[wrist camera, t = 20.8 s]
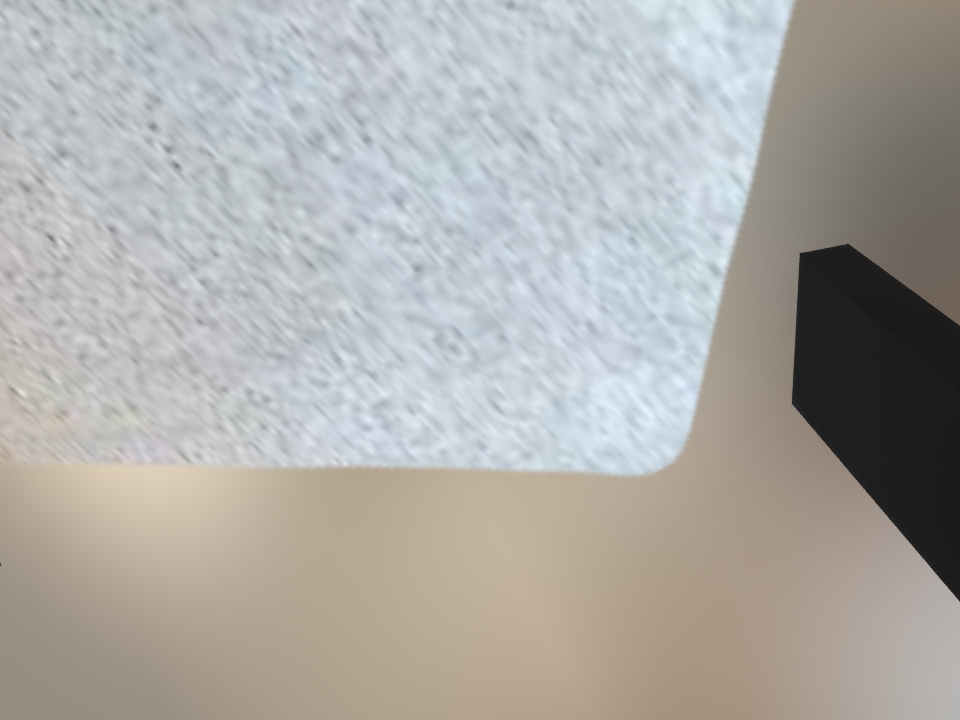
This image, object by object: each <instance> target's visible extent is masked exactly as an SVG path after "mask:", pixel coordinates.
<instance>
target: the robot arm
mask: <svg viewBox="0 0 960 720" xmlns="http://www.w3.org/2000/svg"><path fill="white" fill-rule="evenodd" d="M792 393H793V394H792V404H793V405H794V407H795V408H796V409H797V410H798V411H799V412H800V414H801V415H802V416H803V417H804V418H805V419H806V421H807V422H808V423H809V424H810V426H811V427H812V428H813V429H814V430H815V431H816V432H817V434H818V435H819V436H820V437H821V438H822V440H823V441H824V442H825V443H826V444H827V446H828V447H829V448H830V449H831V450H832V452H833V453H834V454H835V455H836V456H837V457H838V458H839V460H840V461H841V462H842V463H843V464H844V466H845V467H846V468H847V469H848V470H849V472H850V473H851V474H852V475H853V476H854V477H855V479H856V480H857V481H858V482H859V483H860V485H861V486H862V487H863V488H864V489H865V490H866V492H867V493H868V494H869V495H870V496H871V497H872V499H873V500H874V501H875V502H876V503H877V504H878V506H879V507H880V508H881V509H882V510H883V512H884V513H885V514H886V515H887V516H888V518H889V519H890V520H891V521H892V522H893V523H894V524H895V526H896V527H897V528H898V529H899V530H900V532H901V533H902V534H903V535H904V536H905V538H906V539H907V540H908V541H909V542H910V543H911V544H912V546H913V547H914V548H915V549H916V551H917V552H918V553H919V554H920V555H921V556H922V558H923V559H924V560H925V561H926V562H927V563H928V565H929V566H930V567H931V568H932V569H933V571H934V572H935V573H936V574H937V575H938V576H939V578H940V579H941V580H942V581H943V582H944V584H945V585H946V586H947V587H948V588H949V589H950V590H951V592H952V593H953V594H954V595H955V596H956V598H957V599H958V600H959V601H960V326H959V325H958V324H957V323H955V322H954V321H952V320H951V319H950V318H948V317H947V316H946V315H944V314H943V313H941V312H940V311H939V310H938V309H936V308H935V307H933V306H932V305H931V304H929V303H928V302H927V301H925V300H924V299H923V298H921V297H920V296H918V295H917V294H916V293H914V292H913V291H912V290H910V289H909V288H907V287H906V286H905V285H904V284H902V283H901V282H899V281H898V280H897V279H895V278H894V277H893V276H891V275H890V274H889V273H887V272H886V271H884V270H883V269H882V268H880V267H879V266H878V265H876V264H875V263H873V262H872V261H871V260H869V259H868V258H867V257H865V256H864V255H863V254H861V253H860V252H858V251H857V250H856V249H854V248H853V247H852V246H850V245H849V244H846V245H841V246H835V247H830V248H825V249H820V250H815V251H810V252H804V253H800V262H799V280H798V298H797V317H796V337H795V355H794V373H793V391H792ZM0 566H1V563H0Z"/></svg>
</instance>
